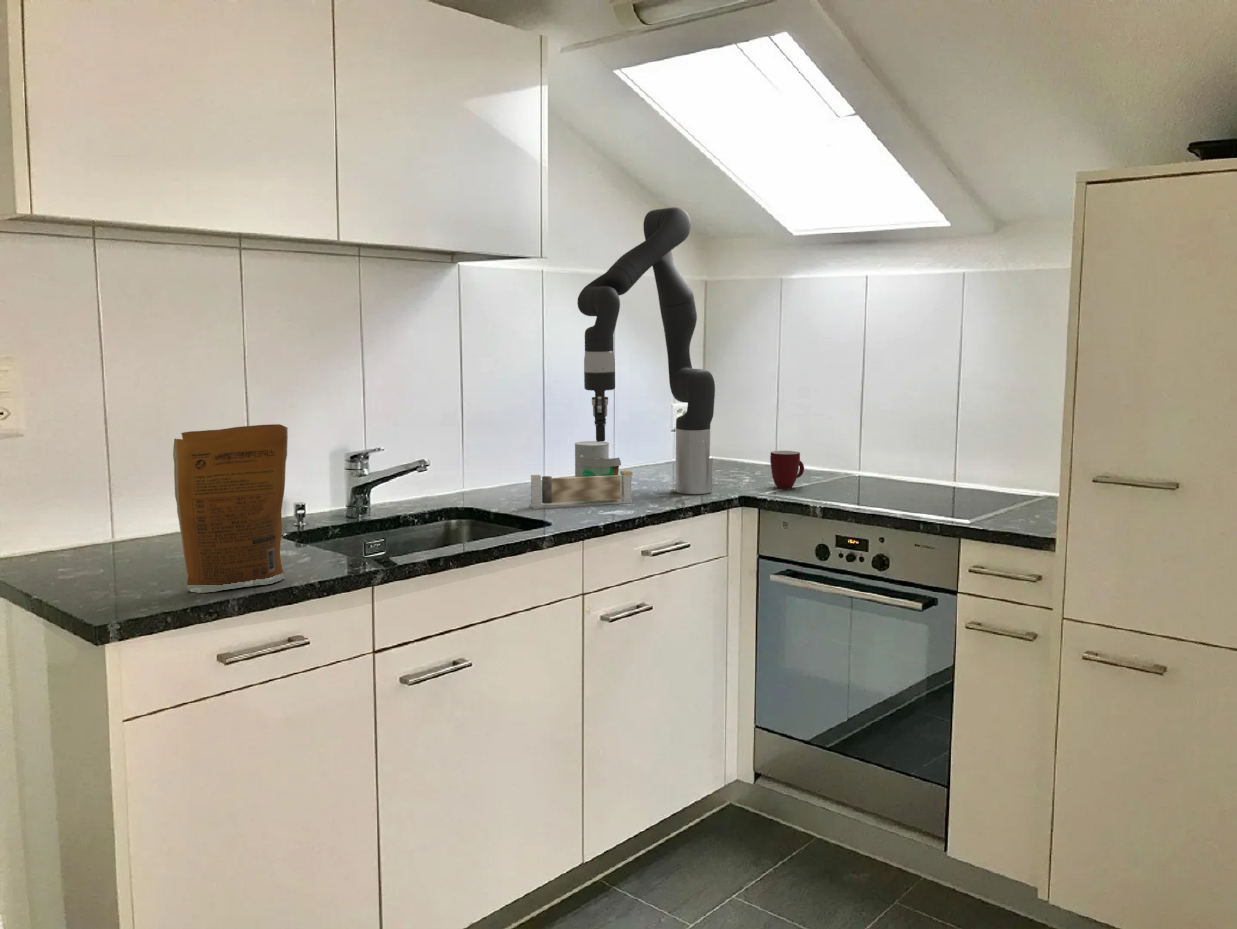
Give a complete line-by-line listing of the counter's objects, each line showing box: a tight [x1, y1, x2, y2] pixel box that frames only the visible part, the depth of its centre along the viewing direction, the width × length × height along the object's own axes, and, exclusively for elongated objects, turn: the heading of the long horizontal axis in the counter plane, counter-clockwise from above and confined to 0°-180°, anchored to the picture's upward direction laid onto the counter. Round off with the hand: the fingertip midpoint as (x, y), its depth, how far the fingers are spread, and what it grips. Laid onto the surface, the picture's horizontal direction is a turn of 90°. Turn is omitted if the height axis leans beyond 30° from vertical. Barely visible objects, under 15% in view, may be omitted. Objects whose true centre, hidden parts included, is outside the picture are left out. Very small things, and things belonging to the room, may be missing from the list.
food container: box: [578, 455, 622, 477], centre depth 266 cm, size 12×6×10 cm, turn 62°
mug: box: [769, 450, 805, 490], centre depth 277 cm, size 11×8×10 cm
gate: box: [541, 474, 621, 504], centre depth 251 cm, size 20×2×6 cm, turn 107°
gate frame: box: [528, 470, 634, 510], centre depth 251 cm, size 26×4×8 cm, turn 110°
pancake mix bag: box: [172, 423, 289, 586], centre depth 171 cm, size 7×19×28 cm, turn 123°
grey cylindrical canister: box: [574, 440, 610, 477], centre depth 278 cm, size 10×10×12 cm
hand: (600, 440), depth 245 cm, fingers closed
